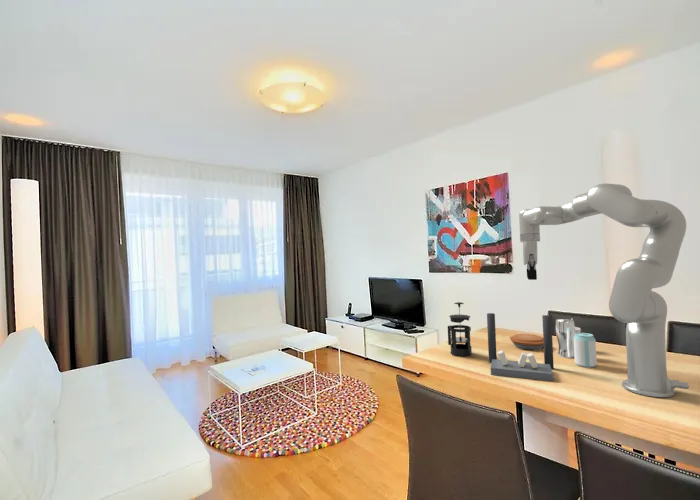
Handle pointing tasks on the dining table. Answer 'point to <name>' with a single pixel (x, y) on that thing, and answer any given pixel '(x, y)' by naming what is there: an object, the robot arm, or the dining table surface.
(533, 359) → the paddle
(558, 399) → the dining table surface
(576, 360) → the can
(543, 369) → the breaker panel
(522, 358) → the middle paddle
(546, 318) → the rod
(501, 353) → the paddle
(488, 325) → the rod
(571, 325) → the beer glass
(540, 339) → the pie
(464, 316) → the french press
